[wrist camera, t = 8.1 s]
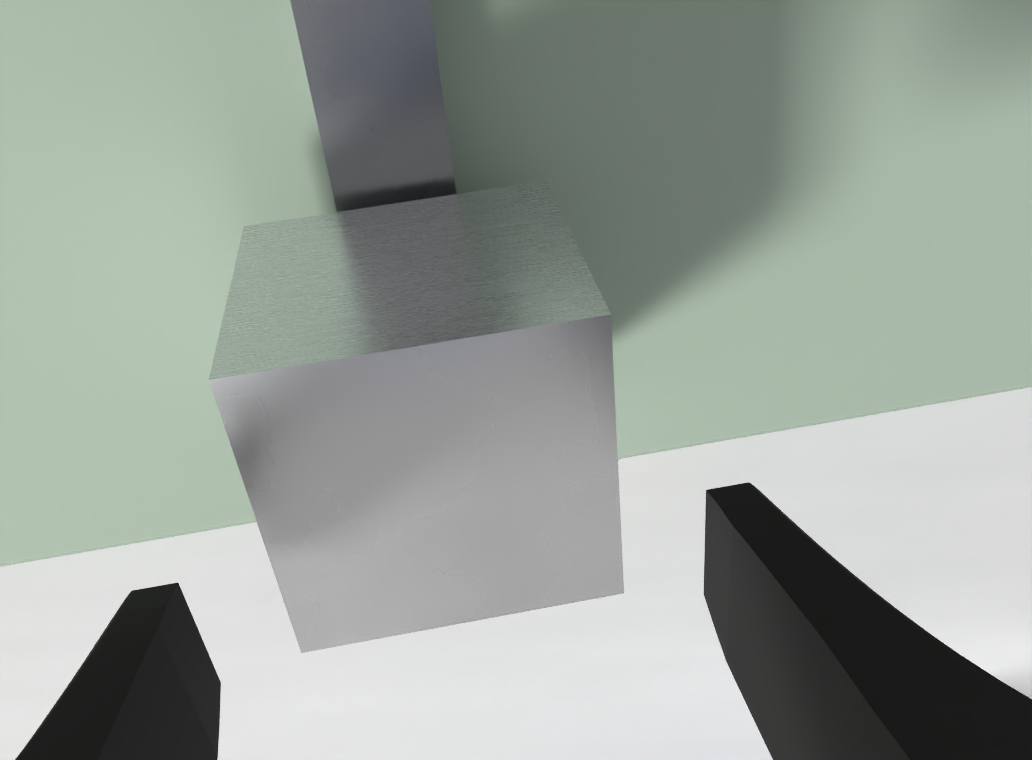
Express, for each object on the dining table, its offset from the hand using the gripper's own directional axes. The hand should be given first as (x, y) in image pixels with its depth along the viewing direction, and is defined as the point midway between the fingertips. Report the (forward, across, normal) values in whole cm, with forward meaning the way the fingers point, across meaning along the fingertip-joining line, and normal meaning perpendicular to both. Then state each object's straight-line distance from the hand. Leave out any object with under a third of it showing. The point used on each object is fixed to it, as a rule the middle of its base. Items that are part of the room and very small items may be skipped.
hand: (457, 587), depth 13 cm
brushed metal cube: (+6, 0, 0) cm, 7 cm away
